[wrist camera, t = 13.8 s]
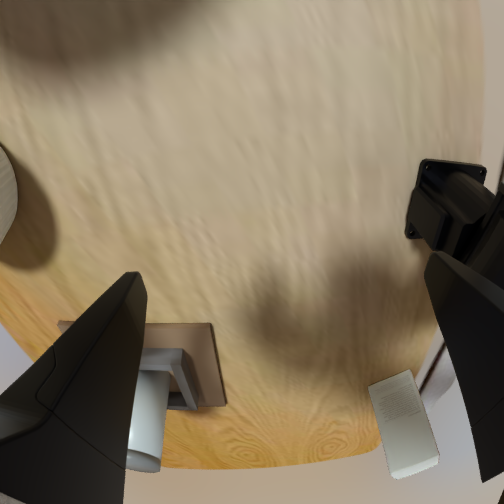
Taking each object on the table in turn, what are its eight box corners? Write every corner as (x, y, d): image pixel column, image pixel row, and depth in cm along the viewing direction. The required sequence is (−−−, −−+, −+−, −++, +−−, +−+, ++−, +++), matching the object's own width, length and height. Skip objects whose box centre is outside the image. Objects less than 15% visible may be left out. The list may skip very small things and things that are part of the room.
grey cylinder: (176, 370, 32) (165, 467, 23) (164, 389, 34) (154, 475, 26) (129, 355, 30) (109, 453, 21) (122, 376, 33) (105, 462, 24)
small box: (415, 389, 40) (439, 464, 30) (376, 404, 42) (395, 480, 31) (411, 367, 36) (440, 455, 25) (366, 385, 37) (388, 475, 27)
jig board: (210, 323, 28) (208, 346, 26) (225, 402, 38) (225, 420, 36) (58, 320, 28) (50, 340, 26) (110, 397, 38) (107, 413, 35)
